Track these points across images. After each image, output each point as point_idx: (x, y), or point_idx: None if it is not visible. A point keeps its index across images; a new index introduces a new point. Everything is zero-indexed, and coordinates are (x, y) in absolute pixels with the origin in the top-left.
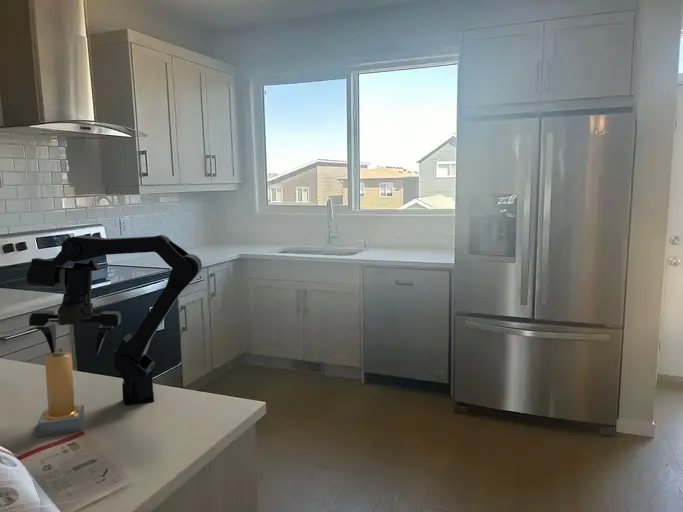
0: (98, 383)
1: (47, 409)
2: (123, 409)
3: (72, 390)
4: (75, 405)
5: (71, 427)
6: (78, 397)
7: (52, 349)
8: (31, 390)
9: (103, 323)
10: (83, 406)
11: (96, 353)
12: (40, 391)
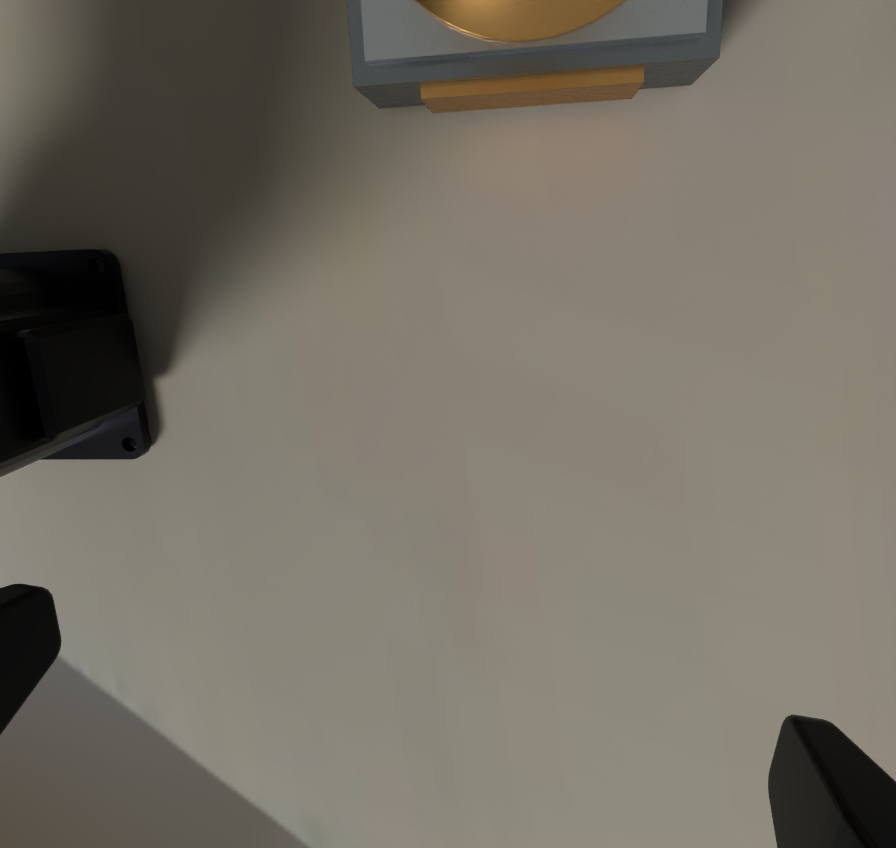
0: (396, 787)
1: (683, 8)
2: (120, 191)
3: None
4: (421, 48)
5: None
6: (495, 568)
7: (886, 815)
8: None
9: None
10: (353, 48)
11: (10, 593)
12: None
